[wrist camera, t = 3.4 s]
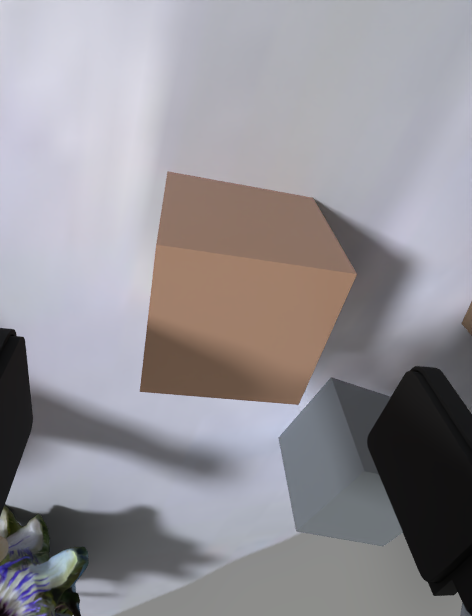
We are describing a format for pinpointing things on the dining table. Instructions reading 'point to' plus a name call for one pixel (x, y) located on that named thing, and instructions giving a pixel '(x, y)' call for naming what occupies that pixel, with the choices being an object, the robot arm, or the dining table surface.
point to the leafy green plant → (37, 571)
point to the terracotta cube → (240, 292)
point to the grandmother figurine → (3, 548)
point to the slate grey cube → (338, 467)
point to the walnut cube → (468, 320)
